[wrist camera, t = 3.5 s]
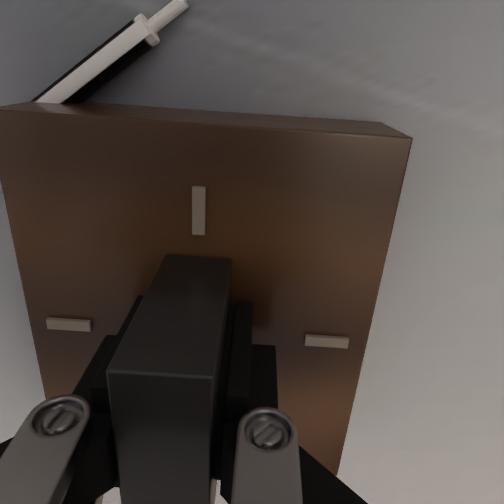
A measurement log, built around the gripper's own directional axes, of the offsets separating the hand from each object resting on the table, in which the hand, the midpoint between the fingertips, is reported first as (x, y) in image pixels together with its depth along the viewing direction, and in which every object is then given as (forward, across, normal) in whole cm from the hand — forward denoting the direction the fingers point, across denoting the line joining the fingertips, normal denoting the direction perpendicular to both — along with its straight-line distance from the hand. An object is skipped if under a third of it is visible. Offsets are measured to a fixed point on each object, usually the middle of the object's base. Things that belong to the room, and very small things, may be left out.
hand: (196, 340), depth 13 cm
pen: (+4, +9, -4) cm, 10 cm away
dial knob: (0, 0, 0) cm, 0 cm away
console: (+3, 0, 0) cm, 3 cm away
